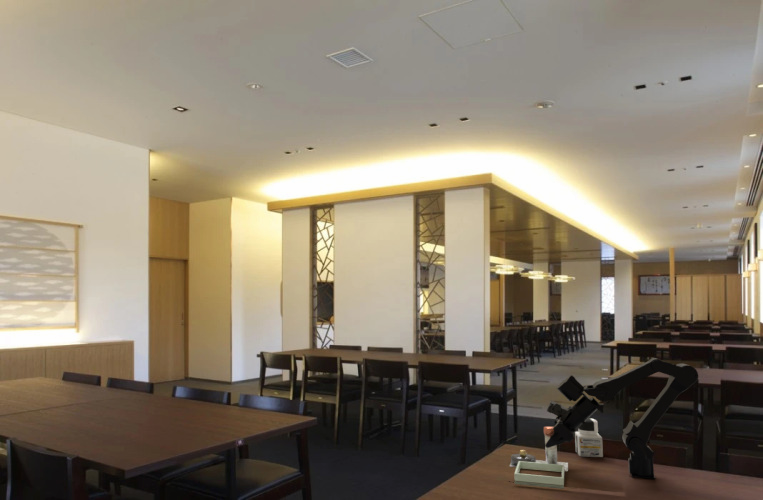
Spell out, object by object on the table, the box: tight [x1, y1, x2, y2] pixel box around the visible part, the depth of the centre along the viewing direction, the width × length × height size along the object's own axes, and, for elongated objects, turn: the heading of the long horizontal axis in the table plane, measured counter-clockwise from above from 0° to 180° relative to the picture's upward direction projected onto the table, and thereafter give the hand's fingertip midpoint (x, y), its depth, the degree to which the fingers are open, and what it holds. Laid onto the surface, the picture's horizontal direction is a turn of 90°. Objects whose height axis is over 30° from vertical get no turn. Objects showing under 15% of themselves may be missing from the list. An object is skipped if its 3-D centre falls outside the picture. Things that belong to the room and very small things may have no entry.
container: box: [574, 417, 604, 458], centre depth 191 cm, size 8×8×13 cm
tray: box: [513, 461, 565, 490], centre depth 165 cm, size 14×14×3 cm
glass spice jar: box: [543, 425, 558, 464], centre depth 177 cm, size 4×4×12 cm
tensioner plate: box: [509, 449, 569, 472], centre depth 178 cm, size 18×10×5 cm, turn 71°
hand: (546, 444), depth 177 cm, fingers open, 6 cm apart
